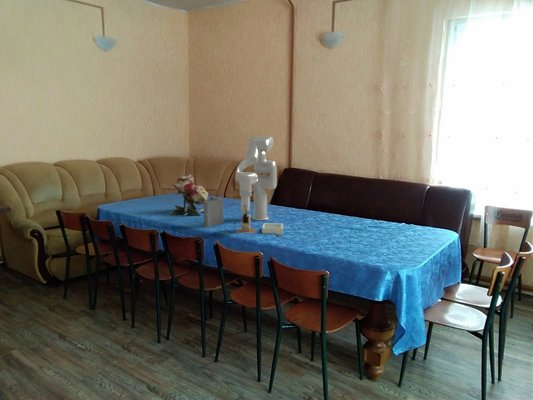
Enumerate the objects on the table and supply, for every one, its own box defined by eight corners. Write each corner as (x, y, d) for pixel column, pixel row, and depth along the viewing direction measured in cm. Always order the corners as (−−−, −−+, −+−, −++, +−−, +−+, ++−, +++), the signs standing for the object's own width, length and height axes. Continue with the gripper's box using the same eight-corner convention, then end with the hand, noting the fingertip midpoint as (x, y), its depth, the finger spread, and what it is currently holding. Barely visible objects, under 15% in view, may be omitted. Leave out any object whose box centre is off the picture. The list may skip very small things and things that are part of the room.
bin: (264, 230, 282) (264, 223, 281) (282, 231, 281) (282, 223, 280) (262, 235, 270) (262, 227, 269) (281, 235, 269) (281, 228, 268)
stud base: (238, 230, 283) (238, 214, 281) (256, 230, 282) (256, 214, 280) (235, 234, 271) (235, 218, 270) (254, 235, 270) (254, 218, 269)
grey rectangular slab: (206, 227, 291) (205, 198, 287) (202, 226, 293) (201, 197, 290) (224, 223, 302) (223, 195, 298) (220, 222, 305) (220, 194, 301)
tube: (242, 229, 279) (242, 214, 278) (250, 229, 279) (250, 214, 277) (241, 231, 274) (241, 215, 273) (249, 231, 274) (249, 215, 272)
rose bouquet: (207, 216, 327) (206, 176, 322) (168, 215, 328) (166, 176, 322) (212, 209, 352) (211, 172, 347) (176, 209, 353) (174, 172, 348)
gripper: (241, 191, 281) (242, 218, 284) (237, 195, 264) (238, 224, 268) (253, 191, 280) (253, 219, 284) (249, 195, 264) (250, 225, 267)
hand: (246, 221), depth 276 cm, fingers closed on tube, 5 cm apart
